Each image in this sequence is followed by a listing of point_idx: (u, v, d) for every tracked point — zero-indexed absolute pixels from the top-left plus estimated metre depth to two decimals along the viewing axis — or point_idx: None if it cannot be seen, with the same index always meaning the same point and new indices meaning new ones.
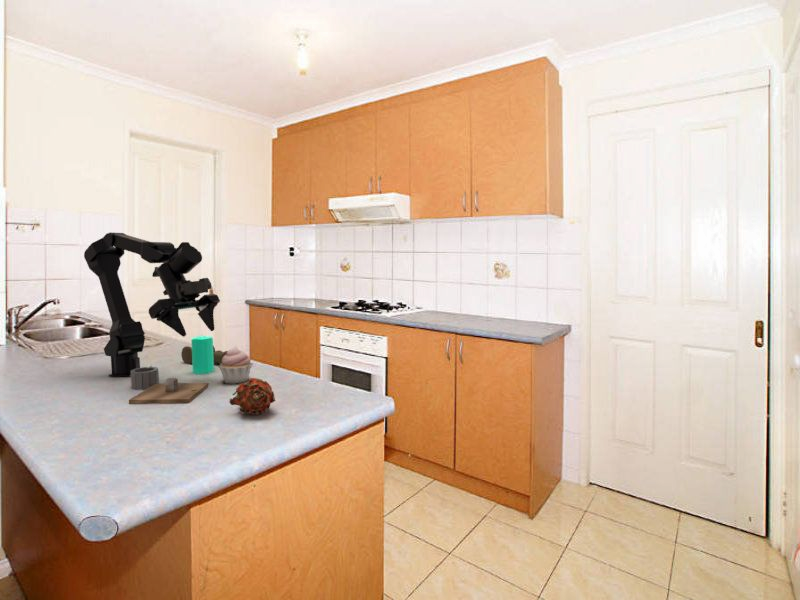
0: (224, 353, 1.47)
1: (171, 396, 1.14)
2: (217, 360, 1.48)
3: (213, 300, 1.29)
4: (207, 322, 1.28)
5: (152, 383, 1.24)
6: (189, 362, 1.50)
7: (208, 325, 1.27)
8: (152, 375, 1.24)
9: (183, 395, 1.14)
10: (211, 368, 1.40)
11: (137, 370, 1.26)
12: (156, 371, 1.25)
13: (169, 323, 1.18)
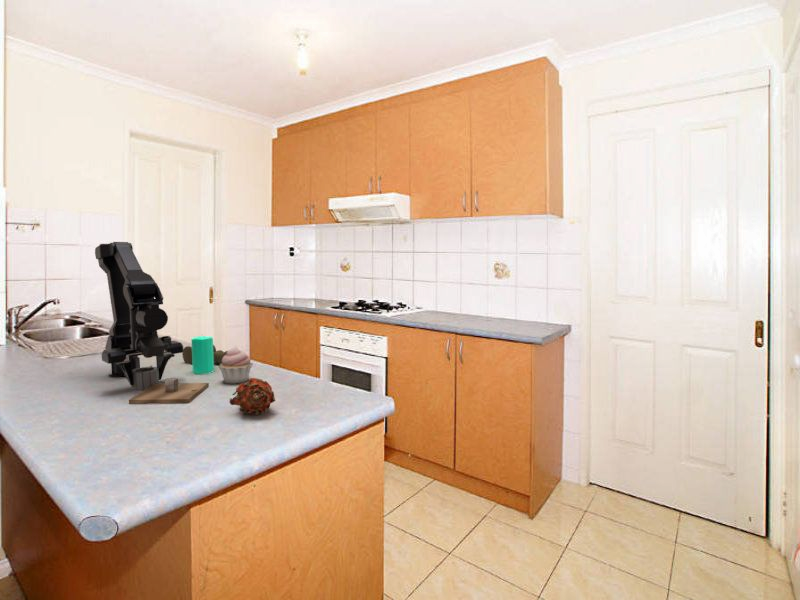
0: (225, 353, 1.47)
1: (171, 396, 1.14)
2: (218, 360, 1.48)
3: (174, 352, 1.27)
4: None
5: (152, 383, 1.24)
6: (190, 362, 1.50)
7: None
8: (152, 375, 1.24)
9: (183, 395, 1.14)
10: (211, 368, 1.40)
11: (137, 370, 1.26)
12: (156, 371, 1.25)
13: (122, 368, 1.22)
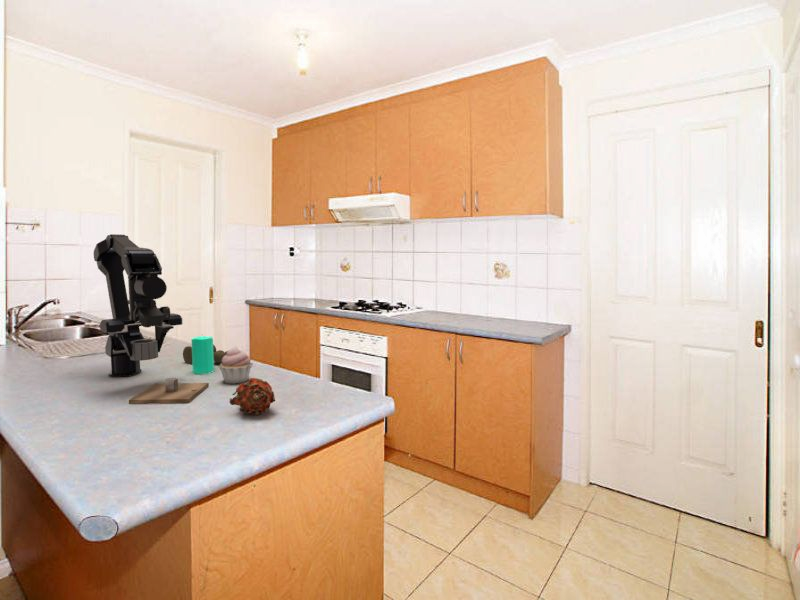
0: (226, 353, 1.47)
1: (171, 396, 1.14)
2: (219, 360, 1.48)
3: (173, 324, 1.26)
4: (157, 341, 1.27)
5: (151, 354, 1.23)
6: (191, 362, 1.50)
7: None
8: (151, 346, 1.23)
9: (183, 395, 1.14)
10: (211, 368, 1.40)
11: (136, 342, 1.25)
12: (155, 343, 1.24)
13: (120, 339, 1.21)
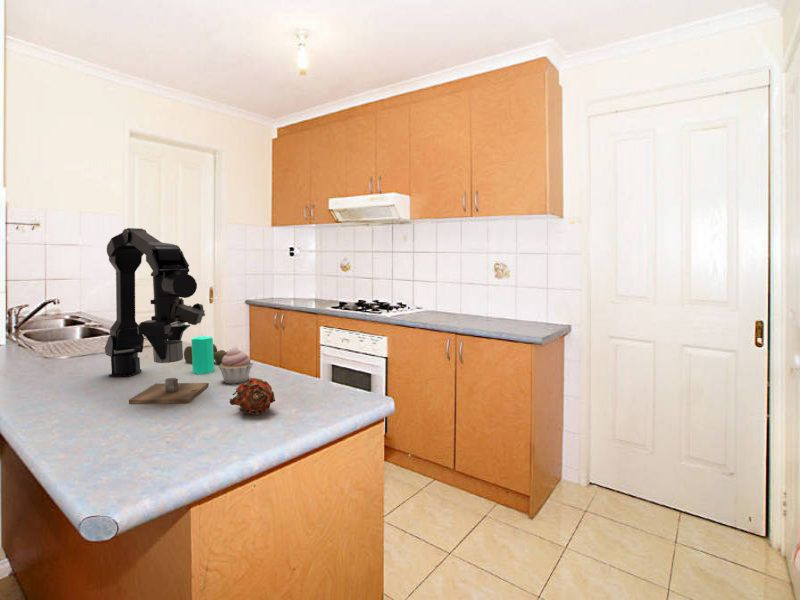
0: None
1: (171, 396, 1.14)
2: (220, 360, 1.48)
3: None
4: None
5: (182, 354, 1.18)
6: None
7: None
8: (182, 346, 1.18)
9: (183, 395, 1.14)
10: (211, 368, 1.40)
11: None
12: None
13: (153, 342, 1.12)
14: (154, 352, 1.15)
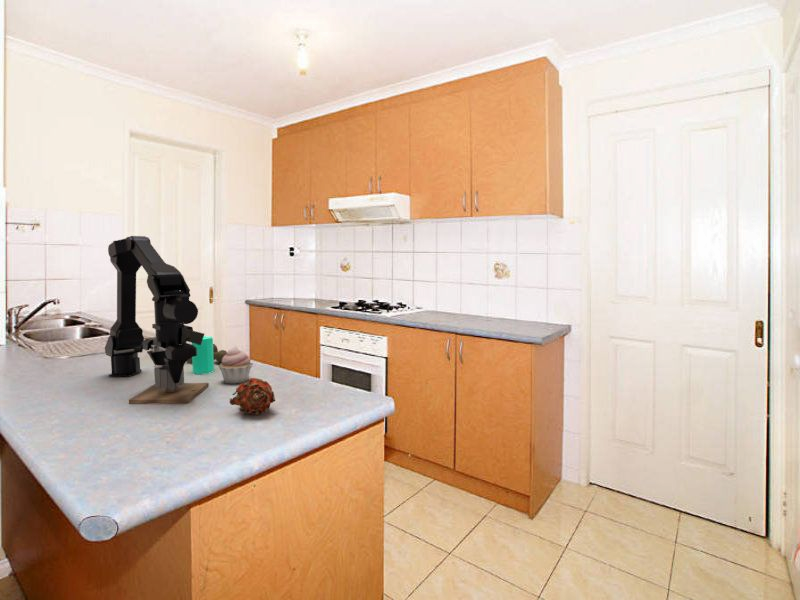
0: None
1: (171, 396, 1.14)
2: None
3: None
4: None
5: None
6: None
7: None
8: None
9: (183, 395, 1.14)
10: (211, 368, 1.40)
11: None
12: None
13: (172, 367, 1.13)
14: (163, 378, 1.14)
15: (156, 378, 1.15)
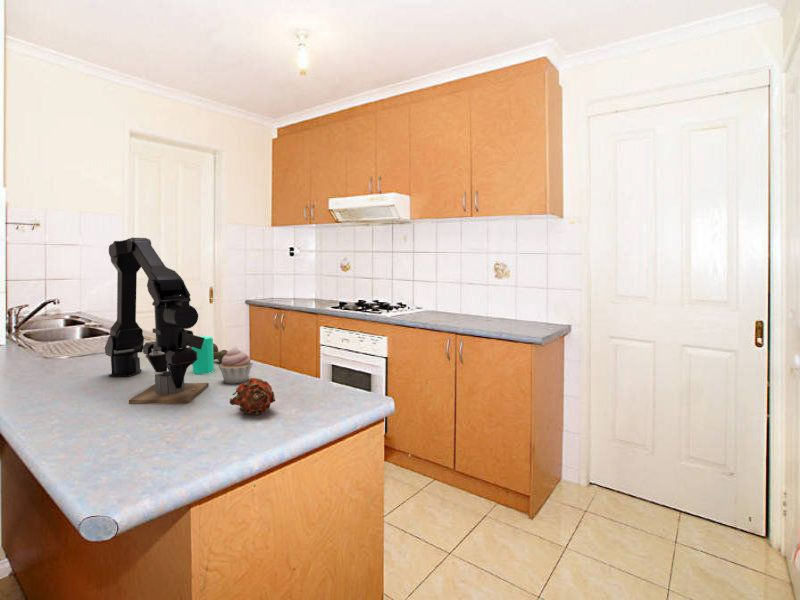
0: None
1: (171, 396, 1.14)
2: None
3: None
4: (160, 371, 1.20)
5: None
6: None
7: None
8: None
9: (183, 395, 1.14)
10: (211, 368, 1.40)
11: None
12: None
13: (175, 372, 1.12)
14: (163, 385, 1.14)
15: (156, 385, 1.15)
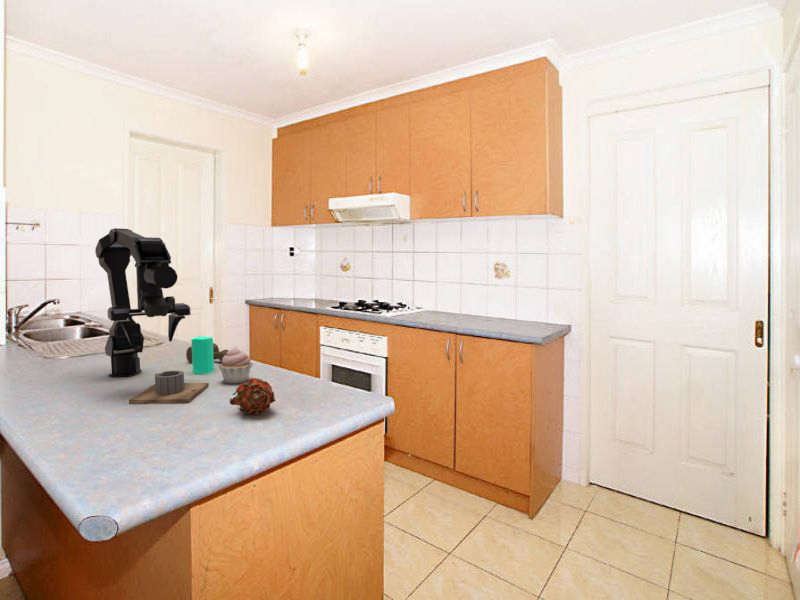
0: None
1: (171, 396, 1.14)
2: None
3: (180, 314, 1.24)
4: (169, 330, 1.26)
5: None
6: None
7: (168, 334, 1.26)
8: None
9: (183, 395, 1.14)
10: (211, 368, 1.40)
11: None
12: None
13: (123, 328, 1.20)
14: (163, 385, 1.14)
15: (156, 385, 1.15)
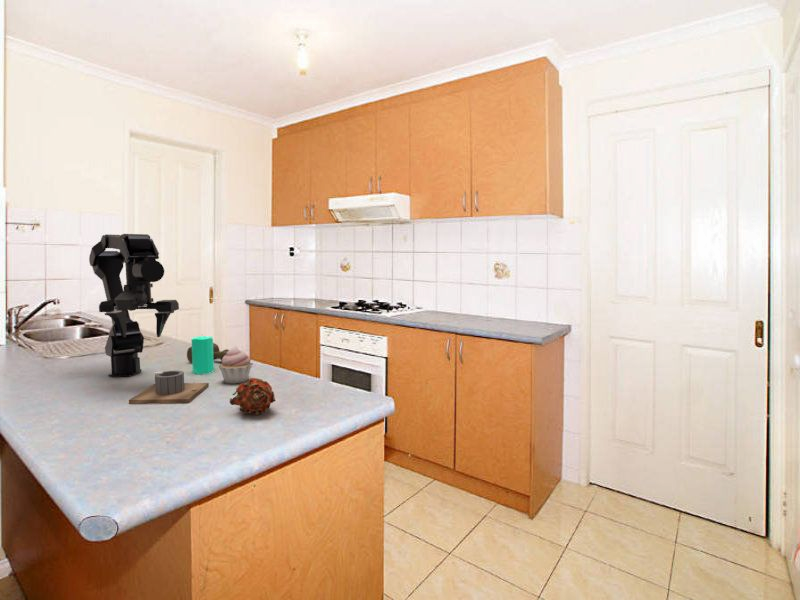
0: None
1: (171, 396, 1.14)
2: None
3: (159, 310, 1.23)
4: None
5: None
6: None
7: None
8: None
9: (183, 395, 1.14)
10: (211, 368, 1.40)
11: None
12: None
13: None
14: (163, 385, 1.14)
15: (156, 385, 1.15)
